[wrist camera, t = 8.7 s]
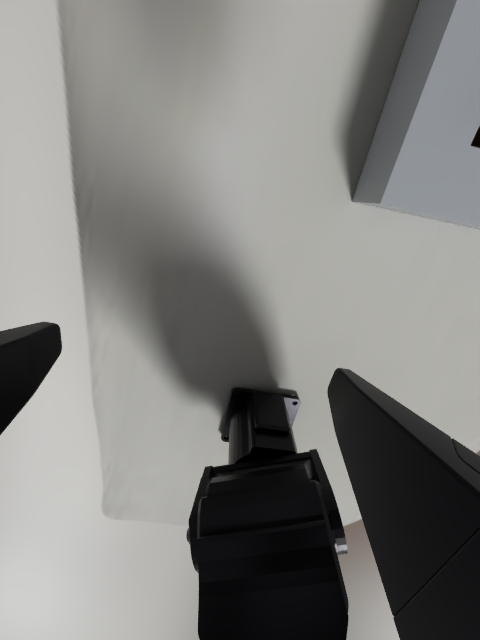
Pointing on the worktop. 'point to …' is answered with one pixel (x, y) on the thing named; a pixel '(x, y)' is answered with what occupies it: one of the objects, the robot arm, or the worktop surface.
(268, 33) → the worktop surface
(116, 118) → the worktop surface
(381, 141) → the socket
